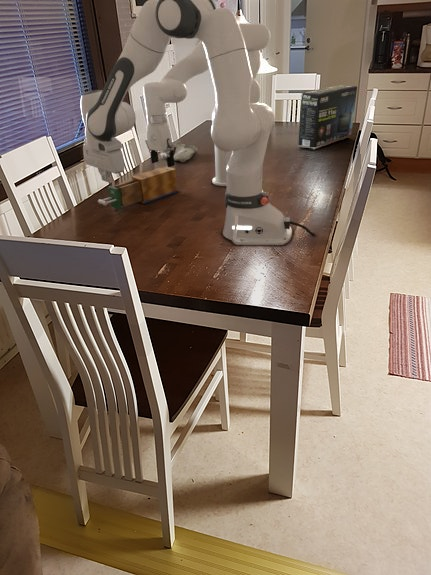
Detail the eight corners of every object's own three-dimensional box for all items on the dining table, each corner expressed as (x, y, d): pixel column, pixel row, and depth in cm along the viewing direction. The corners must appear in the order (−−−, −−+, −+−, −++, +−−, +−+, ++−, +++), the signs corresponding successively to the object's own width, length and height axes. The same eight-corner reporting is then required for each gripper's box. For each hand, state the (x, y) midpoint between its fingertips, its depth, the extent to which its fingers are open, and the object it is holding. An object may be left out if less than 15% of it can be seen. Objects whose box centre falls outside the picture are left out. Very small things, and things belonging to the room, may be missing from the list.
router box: (314, 151, 231) (318, 94, 217) (296, 148, 237) (299, 92, 224) (352, 138, 251) (358, 85, 238) (335, 135, 258) (340, 83, 245)
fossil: (184, 156, 217) (163, 136, 220) (174, 174, 223) (154, 154, 227) (205, 153, 231) (186, 134, 234) (195, 171, 237) (176, 152, 240)
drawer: (106, 214, 166) (102, 193, 162) (98, 210, 169) (95, 190, 165) (152, 197, 179) (150, 178, 175) (144, 195, 182) (142, 175, 178)
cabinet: (144, 203, 176) (141, 179, 171) (134, 200, 180) (131, 176, 175) (177, 192, 186) (175, 168, 181) (167, 188, 190) (165, 166, 185)
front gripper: (75, 138, 161) (83, 177, 168) (108, 147, 149) (115, 189, 156) (91, 135, 165) (97, 173, 172) (124, 143, 153) (130, 184, 160)
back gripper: (135, 118, 174) (142, 163, 183) (164, 123, 163) (170, 170, 172) (150, 114, 178) (156, 158, 187) (180, 119, 167) (185, 165, 176)
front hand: (106, 180), depth 164 cm, fingers closed
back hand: (163, 164), depth 179 cm, fingers open, 9 cm apart
